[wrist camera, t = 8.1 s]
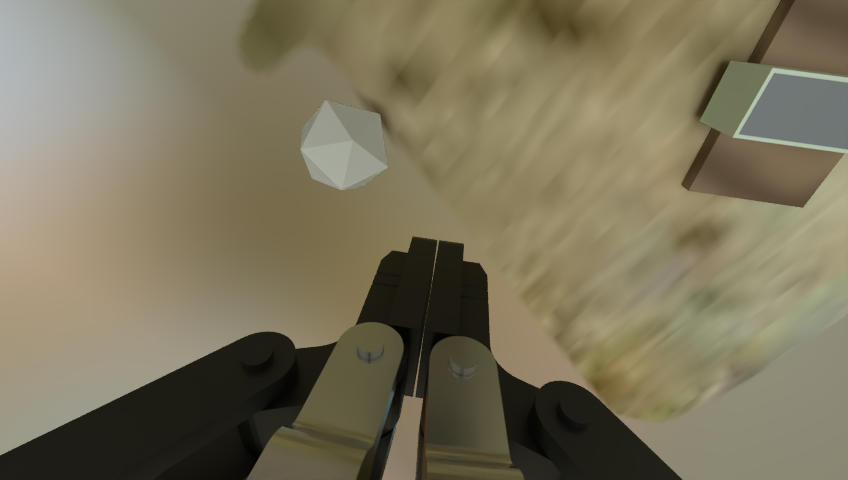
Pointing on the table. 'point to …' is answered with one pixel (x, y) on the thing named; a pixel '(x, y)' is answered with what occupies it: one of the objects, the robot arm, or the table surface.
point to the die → (343, 145)
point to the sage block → (781, 106)
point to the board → (769, 162)
